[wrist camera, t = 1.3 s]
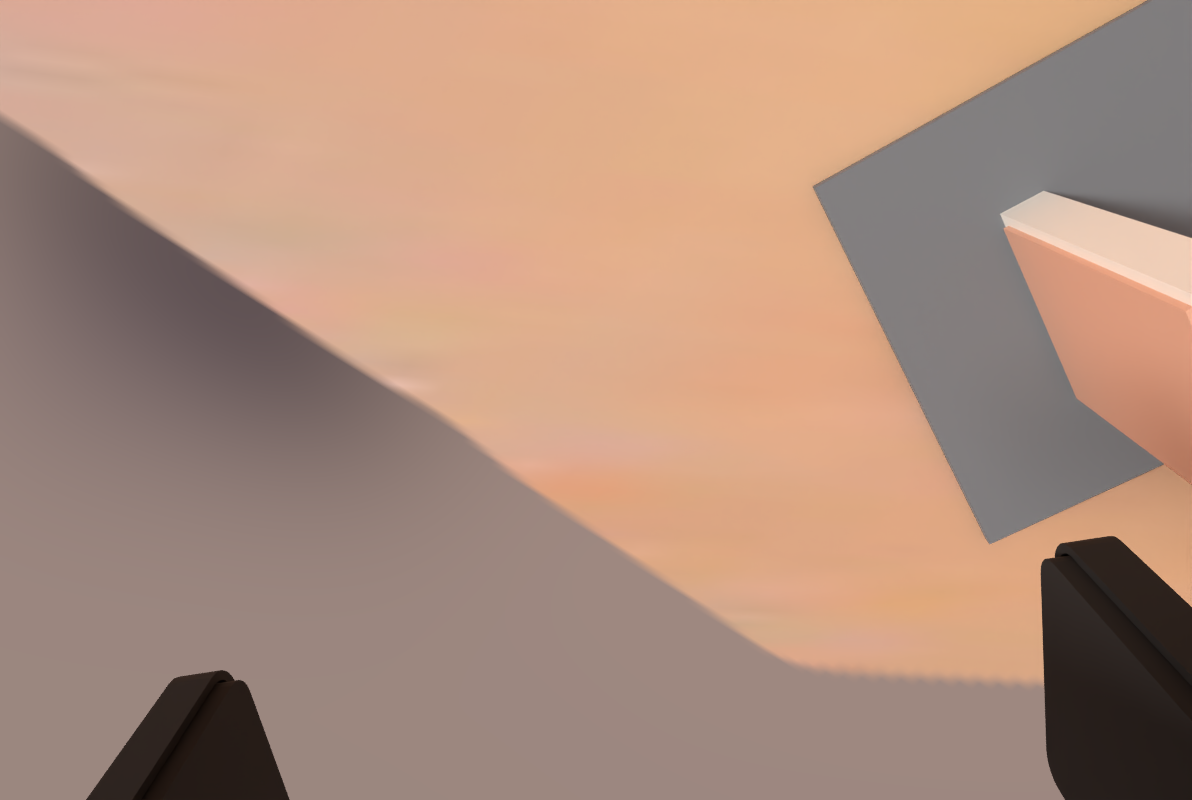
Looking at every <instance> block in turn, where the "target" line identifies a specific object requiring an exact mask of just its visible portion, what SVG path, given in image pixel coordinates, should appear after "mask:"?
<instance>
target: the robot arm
mask: <svg viewBox="0 0 1192 800" xmlns="http://www.w3.org/2000/svg"><path fill="white" fill-rule="evenodd" d="M1041 595H1042V626H1043V657H1044V688H1045V718H1046V750H1047V758H1048V763H1049V767H1050V770H1051V773H1052V776H1053V778H1054V781H1055V783H1056V785H1057V787H1058V789H1059V790H1060V792H1061V794H1062V795H1063V797H1064V798H1065V800H1192V607H1191V606H1190V605H1189V604H1188V603H1187V602H1186V601H1185V600H1183V599H1182V598H1181V597H1180V596H1179V595H1178V594H1177V593H1176V592H1175V591H1174V590H1173V589H1172V588H1171V587H1170V586H1169V585H1167V584H1166V583H1165V582H1164V581H1163V580H1162V579H1161V578H1160V577H1159V576H1158V575H1157V574H1156V573H1155V572H1154V571H1153V570H1151V569H1150V568H1149V567H1148V566H1147V565H1146V564H1145V563H1144V562H1143V561H1142V560H1141V559H1140V558H1139V557H1138V556H1137V555H1136V554H1134V553H1133V552H1132V551H1131V550H1130V549H1129V548H1128V547H1127V546H1126V545H1125V544H1124V543H1123V542H1122V541H1121V540H1119V539H1118V538H1116V537H1115V536H1107V537H1101V538H1094V539H1088V540H1081V541H1074V542H1068V543H1061V544H1060V545H1059V546H1058V547H1057V549H1056V552H1055V558H1049V559H1045V560H1044V561H1043V562H1042V565H1041ZM86 800H289V797H288V795H287V792H286V789H285V786H284V783H283V781H282V778H281V775H280V772H279V770H278V767H277V764H276V761H275V759H274V756H273V754H272V751H271V748H270V745H269V742H268V740H267V737H266V734H265V731H264V729H263V726H262V723H261V720H260V718H259V715H258V712H257V709H256V706H255V704H254V701H253V698H252V695H251V693H250V690H249V688H248V687H247V685H246V684H245V682H243V681H241V680H236V681H234V679H233V677H232V676H231V675H230V674H229V673H228V672H226V671H223V670H220V671H214V672H208V673H201V674H195V675H188V676H181V677H177V678H174V679H173V680H172V681H171V682H170V684H169V685H168V686H167V687H166V689H165V690H164V692H163V693H162V694H161V696H160V697H159V699H158V700H157V701H156V703H155V704H154V706H153V707H152V708H151V710H150V711H149V713H148V714H147V715H146V717H145V718H144V720H143V721H142V722H141V724H140V725H139V727H138V728H137V729H136V731H135V732H134V734H133V735H132V736H131V738H130V739H129V741H128V742H127V743H126V745H125V746H124V748H123V749H122V751H121V752H120V753H119V755H118V756H117V757H116V759H115V760H114V762H113V763H112V764H111V766H110V767H109V769H108V770H107V771H106V773H105V774H104V776H103V777H102V778H101V780H100V781H99V783H98V784H97V785H96V787H95V788H94V790H93V791H92V792H91V794H90V795H89V797H88V798H87V799H86Z"/></svg>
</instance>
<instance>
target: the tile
mask: <svg viewBox="0 0 1192 800" xmlns="http://www.w3.org/2000/svg"><path fill="white" fill-rule="evenodd" d="M1000 215H1001V217H1002V220H1003V222H1004V224H1005V228H1003V229H1004V232H1005V234H1006V236H1007V238H1008V241H1009V243H1010V245H1011V248H1012V250H1013V252H1014V255H1015V257H1016V259H1017V262H1018V264H1019V266H1020V269H1021V271H1022V273H1023V276H1024V278H1025V280H1026V282H1027V285H1028V287H1029V289H1030V292H1031V294H1032V296H1033V299H1034V301H1035V303H1036V306H1037V308H1038V310H1039V313H1040V315H1041V317H1042V320H1043V322H1044V324H1045V326H1046V329H1047V331H1048V333H1049V336H1050V338H1051V340H1052V343H1053V345H1054V347H1055V350H1056V352H1057V354H1058V357H1059V359H1060V361H1061V363H1062V366H1063V368H1064V370H1065V373H1066V375H1067V377H1068V380H1069V382H1070V384H1071V387H1072V389H1073V391H1074V394H1075V396H1076V398H1077V399H1078V400H1079V401H1081V402H1082V403H1083V404H1085V405H1086V406H1087V407H1089V408H1090V409H1091V410H1093V411H1094V412H1095V413H1097V414H1098V415H1099V416H1101V417H1102V418H1103V419H1105V420H1106V421H1107V422H1109V423H1110V424H1111V425H1113V426H1114V427H1115V428H1117V429H1118V430H1119V431H1121V432H1122V433H1123V434H1125V435H1126V436H1127V437H1129V438H1130V439H1131V440H1133V441H1134V442H1135V443H1137V444H1138V445H1139V446H1141V447H1142V448H1143V449H1145V450H1146V451H1147V452H1149V453H1150V454H1151V455H1153V456H1154V457H1155V458H1157V459H1158V460H1159V461H1161V462H1162V463H1163V464H1165V465H1166V466H1167V467H1169V468H1170V469H1171V470H1173V471H1174V472H1175V473H1177V474H1178V475H1179V476H1181V477H1182V478H1183V479H1185V480H1186V481H1187V482H1189V483H1190V484H1191V485H1192V238H1190V237H1186V236H1183V235H1180V234H1177V233H1174V232H1171V231H1168V230H1165V229H1161V228H1158V227H1155V226H1152V225H1149V224H1146V223H1143V222H1140V221H1137V220H1133V219H1130V218H1127V217H1124V216H1121V215H1118V214H1115V213H1112V212H1109V211H1105V210H1102V209H1099V208H1096V207H1093V206H1090V205H1087V204H1084V203H1080V202H1077V201H1074V200H1071V199H1068V198H1065V197H1062V196H1059V195H1056V194H1052V193H1049V192H1046V191H1042V192H1040V193H1038V194H1037V195H1035V196H1033V197H1031V198H1029V199H1027V200H1025V201H1023V202H1021V203H1020V204H1018V205H1016V206H1014V207H1012V208H1010V209H1008V210H1006V211H1004V212H1003V213H1001V214H1000Z"/></svg>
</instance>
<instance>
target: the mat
mask: <svg viewBox="0 0 1192 800" xmlns="http://www.w3.org/2000/svg"><path fill="white" fill-rule="evenodd" d="M813 188H814V190H815V192H816V194H817V196H818V198H819V201H820V203H821V205H822V207H823V209H824V211H825V213H826V215H827V217H828V219H829V221H830V223H831V225H832V227H833V229H834V231H835V233H836V235H837V237H838V239H839V241H840V243H841V245H842V247H843V249H844V251H845V253H846V255H847V257H848V260H849V262H850V264H851V266H852V268H853V270H854V272H855V274H856V276H857V278H858V280H859V282H860V284H861V286H862V288H863V290H864V292H865V294H866V296H867V298H868V300H869V302H870V304H871V306H872V308H873V310H874V312H875V314H876V316H877V319H878V321H879V323H880V325H881V327H882V329H883V331H884V333H885V335H886V337H887V339H888V341H889V343H890V345H891V347H892V349H893V351H894V353H895V355H896V357H897V359H898V361H899V363H900V365H901V367H902V369H903V371H904V373H905V375H906V378H907V380H908V382H909V384H910V386H911V388H912V390H913V392H914V394H915V396H916V398H917V400H918V402H919V404H920V406H921V408H922V410H923V412H924V414H925V416H926V418H927V420H928V422H929V424H930V426H931V428H932V430H933V432H934V434H935V437H936V439H937V441H938V443H939V445H940V447H941V449H942V451H943V453H944V455H945V457H946V459H947V461H948V463H949V465H950V467H951V469H952V471H953V473H954V475H955V477H956V479H957V481H958V483H959V485H960V487H961V489H962V491H963V493H964V496H965V498H966V500H967V502H968V504H969V506H970V508H971V510H972V512H973V514H974V516H975V518H976V520H977V522H978V524H979V526H980V528H981V530H982V532H983V534H984V536H985V538H986V540H987V541H988V543H989V544H991V543H994V542H996V541H998V540H1000V539H1002V538H1004V537H1007V536H1009V535H1011V534H1013V533H1015V532H1018V531H1020V530H1022V529H1024V528H1026V527H1028V526H1031V525H1033V524H1035V523H1037V522H1039V521H1041V520H1044V519H1046V518H1048V517H1050V516H1052V515H1054V514H1057V513H1059V512H1061V511H1063V510H1065V509H1068V508H1070V507H1072V506H1074V505H1076V504H1078V503H1081V502H1083V501H1085V500H1087V499H1089V498H1091V497H1094V496H1096V495H1098V494H1100V493H1102V492H1105V491H1107V490H1109V489H1111V488H1113V487H1115V486H1118V485H1120V484H1122V483H1124V482H1126V481H1128V480H1131V479H1133V478H1135V477H1137V476H1139V475H1141V474H1144V473H1146V472H1148V471H1150V470H1152V469H1155V468H1157V467H1159V466H1161V465H1163V463H1162V462H1161V461H1159V460H1158V459H1157V458H1155V457H1154V456H1153V455H1151V454H1150V453H1149V452H1147V451H1146V450H1145V449H1143V448H1142V447H1141V446H1139V445H1138V444H1137V443H1135V442H1134V441H1133V440H1131V439H1130V438H1129V437H1127V436H1126V435H1125V434H1123V433H1122V432H1121V431H1119V430H1118V429H1117V428H1115V427H1114V426H1113V425H1111V424H1110V423H1109V422H1107V421H1106V420H1105V419H1103V418H1102V417H1101V416H1099V415H1098V414H1097V413H1095V412H1094V411H1093V410H1091V409H1090V408H1089V407H1087V406H1086V405H1085V404H1083V403H1082V402H1081V401H1079V400H1078V399H1077V398H1076V396H1075V394H1074V391H1073V389H1072V387H1071V384H1070V382H1069V380H1068V377H1067V375H1066V373H1065V370H1064V368H1063V366H1062V363H1061V361H1060V359H1059V357H1058V354H1057V352H1056V350H1055V347H1054V345H1053V343H1052V340H1051V338H1050V336H1049V333H1048V331H1047V329H1046V326H1045V324H1044V322H1043V320H1042V317H1041V315H1040V313H1039V310H1038V308H1037V306H1036V303H1035V301H1034V299H1033V296H1032V294H1031V292H1030V289H1029V287H1028V285H1027V282H1026V280H1025V278H1024V276H1023V273H1022V271H1021V269H1020V266H1019V264H1018V262H1017V259H1016V257H1015V255H1014V252H1013V250H1012V248H1011V245H1010V243H1009V241H1008V238H1007V236H1006V234H1005V232H1004V229H1003V228H1005V224H1004V222H1003V220H1002V217H1001V215H1000V214H1001V213H1003V212H1004V211H1006V210H1008V209H1010V208H1012V207H1014V206H1016V205H1018V204H1020V203H1021V202H1023V201H1025V200H1027V199H1029V198H1031V197H1033V196H1035V195H1037V194H1038V193H1040V192H1042V191H1046V192H1049V193H1052V194H1056V195H1059V196H1062V197H1065V198H1068V199H1071V200H1074V201H1077V202H1080V203H1084V204H1087V205H1090V206H1093V207H1096V208H1099V209H1102V210H1105V211H1109V212H1112V213H1115V214H1118V215H1121V216H1124V217H1127V218H1130V219H1133V220H1137V221H1140V222H1143V223H1146V224H1149V225H1152V226H1155V227H1158V228H1161V229H1165V230H1168V231H1171V232H1174V233H1177V234H1180V235H1183V236H1186V237H1190V238H1192V0H1147V1H1145V2H1144V3H1142V4H1140V5H1138V6H1137V7H1135V8H1133V9H1131V10H1129V11H1128V12H1126V13H1124V14H1122V15H1120V16H1119V17H1117V18H1115V19H1113V20H1111V21H1110V22H1108V23H1106V24H1104V25H1102V26H1101V27H1099V28H1097V29H1095V30H1093V31H1092V32H1090V33H1088V34H1086V35H1084V36H1083V37H1081V38H1079V39H1077V40H1075V41H1074V42H1072V43H1070V44H1068V45H1066V46H1065V47H1063V48H1061V49H1059V50H1057V51H1056V52H1054V53H1052V54H1050V55H1048V56H1047V57H1045V58H1043V59H1041V60H1039V61H1038V62H1036V63H1034V64H1032V65H1030V66H1029V67H1027V68H1025V69H1023V70H1021V71H1020V72H1018V73H1016V74H1014V75H1012V76H1011V77H1009V78H1007V79H1005V80H1003V81H1002V82H1000V83H998V84H996V85H994V86H993V87H991V88H989V89H987V90H985V91H984V92H982V93H980V94H978V95H976V96H975V97H973V98H971V99H969V100H967V101H966V102H964V103H962V104H960V105H958V106H957V107H955V108H953V109H951V110H949V111H948V112H946V113H944V114H942V115H940V116H939V117H937V118H935V119H933V120H931V121H930V122H928V123H926V124H924V125H922V126H921V127H919V128H917V129H915V130H913V131H912V132H910V133H908V134H906V135H904V136H903V137H901V138H899V139H897V140H896V141H894V142H892V143H890V144H888V145H887V146H885V147H883V148H881V149H879V150H878V151H876V152H874V153H872V154H870V155H869V156H867V157H865V158H863V159H861V160H860V161H858V162H856V163H854V164H852V165H851V166H849V167H847V168H845V169H843V170H842V171H840V172H838V173H836V174H834V175H833V176H831V177H829V178H827V179H825V180H824V181H822V182H820V183H818V184H816V185H815V186H813Z"/></svg>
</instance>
